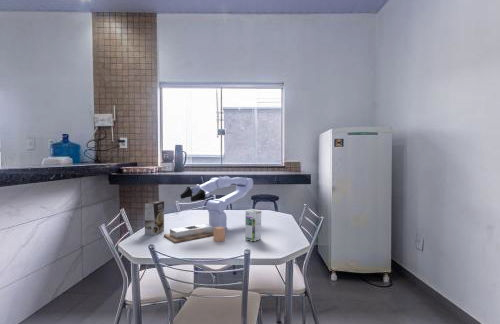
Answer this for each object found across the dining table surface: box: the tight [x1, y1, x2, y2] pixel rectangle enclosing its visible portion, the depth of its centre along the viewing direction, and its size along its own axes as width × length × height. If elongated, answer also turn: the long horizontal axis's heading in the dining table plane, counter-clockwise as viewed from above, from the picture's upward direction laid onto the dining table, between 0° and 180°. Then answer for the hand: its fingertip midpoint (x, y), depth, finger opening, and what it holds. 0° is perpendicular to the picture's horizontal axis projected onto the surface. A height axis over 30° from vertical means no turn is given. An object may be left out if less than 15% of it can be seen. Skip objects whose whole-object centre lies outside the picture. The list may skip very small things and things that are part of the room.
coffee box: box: [144, 200, 165, 236], centre depth 147 cm, size 9×6×16 cm
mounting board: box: [163, 230, 214, 244], centre depth 142 cm, size 24×14×1 cm, turn 128°
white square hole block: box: [169, 223, 213, 239], centre depth 142 cm, size 20×8×3 cm, turn 128°
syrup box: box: [244, 208, 262, 242], centre depth 135 cm, size 6×6×14 cm
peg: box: [213, 226, 226, 242], centre depth 134 cm, size 4×4×6 cm
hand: (186, 198), depth 140 cm, fingers open, 7 cm apart
